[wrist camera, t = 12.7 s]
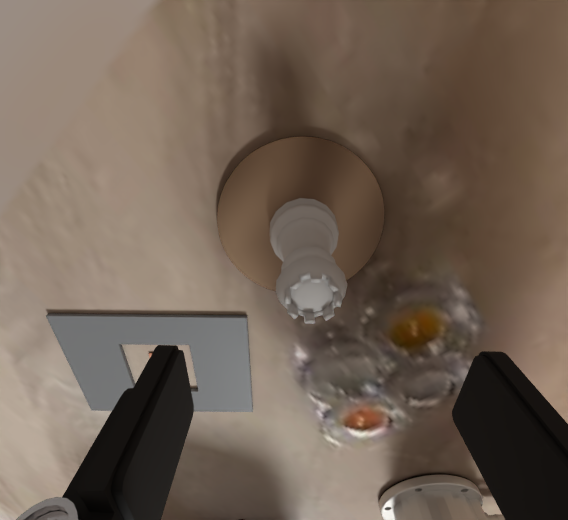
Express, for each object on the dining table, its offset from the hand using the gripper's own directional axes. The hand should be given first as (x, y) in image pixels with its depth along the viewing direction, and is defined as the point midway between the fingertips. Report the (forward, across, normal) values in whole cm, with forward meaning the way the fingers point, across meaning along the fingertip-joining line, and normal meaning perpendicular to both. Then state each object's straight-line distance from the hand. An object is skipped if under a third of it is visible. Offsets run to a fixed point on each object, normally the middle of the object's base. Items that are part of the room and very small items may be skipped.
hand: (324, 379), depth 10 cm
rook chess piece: (+12, 0, -1) cm, 12 cm away
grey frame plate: (+12, +12, +13) cm, 22 cm away
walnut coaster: (+12, 0, -1) cm, 12 cm away
